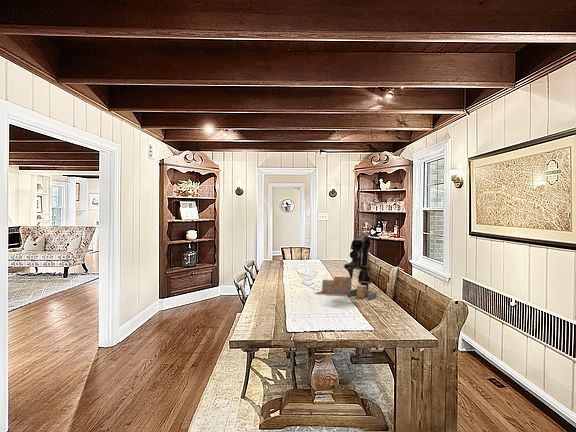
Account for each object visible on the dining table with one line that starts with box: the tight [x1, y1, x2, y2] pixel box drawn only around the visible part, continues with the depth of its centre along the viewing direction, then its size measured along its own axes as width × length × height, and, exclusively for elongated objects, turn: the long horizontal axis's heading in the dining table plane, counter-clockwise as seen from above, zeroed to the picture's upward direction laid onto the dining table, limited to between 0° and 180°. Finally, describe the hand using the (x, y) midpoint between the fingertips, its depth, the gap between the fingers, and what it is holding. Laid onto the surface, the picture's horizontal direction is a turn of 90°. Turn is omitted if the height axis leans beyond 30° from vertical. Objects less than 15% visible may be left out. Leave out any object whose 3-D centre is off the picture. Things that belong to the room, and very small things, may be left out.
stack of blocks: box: [321, 274, 352, 294], centre depth 338 cm, size 21×6×12 cm, turn 85°
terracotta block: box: [356, 284, 368, 299], centre depth 321 cm, size 5×5×8 cm
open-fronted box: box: [347, 288, 378, 301], centre depth 322 cm, size 11×17×4 cm, turn 50°
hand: (356, 279), depth 322 cm, fingers open, 9 cm apart
